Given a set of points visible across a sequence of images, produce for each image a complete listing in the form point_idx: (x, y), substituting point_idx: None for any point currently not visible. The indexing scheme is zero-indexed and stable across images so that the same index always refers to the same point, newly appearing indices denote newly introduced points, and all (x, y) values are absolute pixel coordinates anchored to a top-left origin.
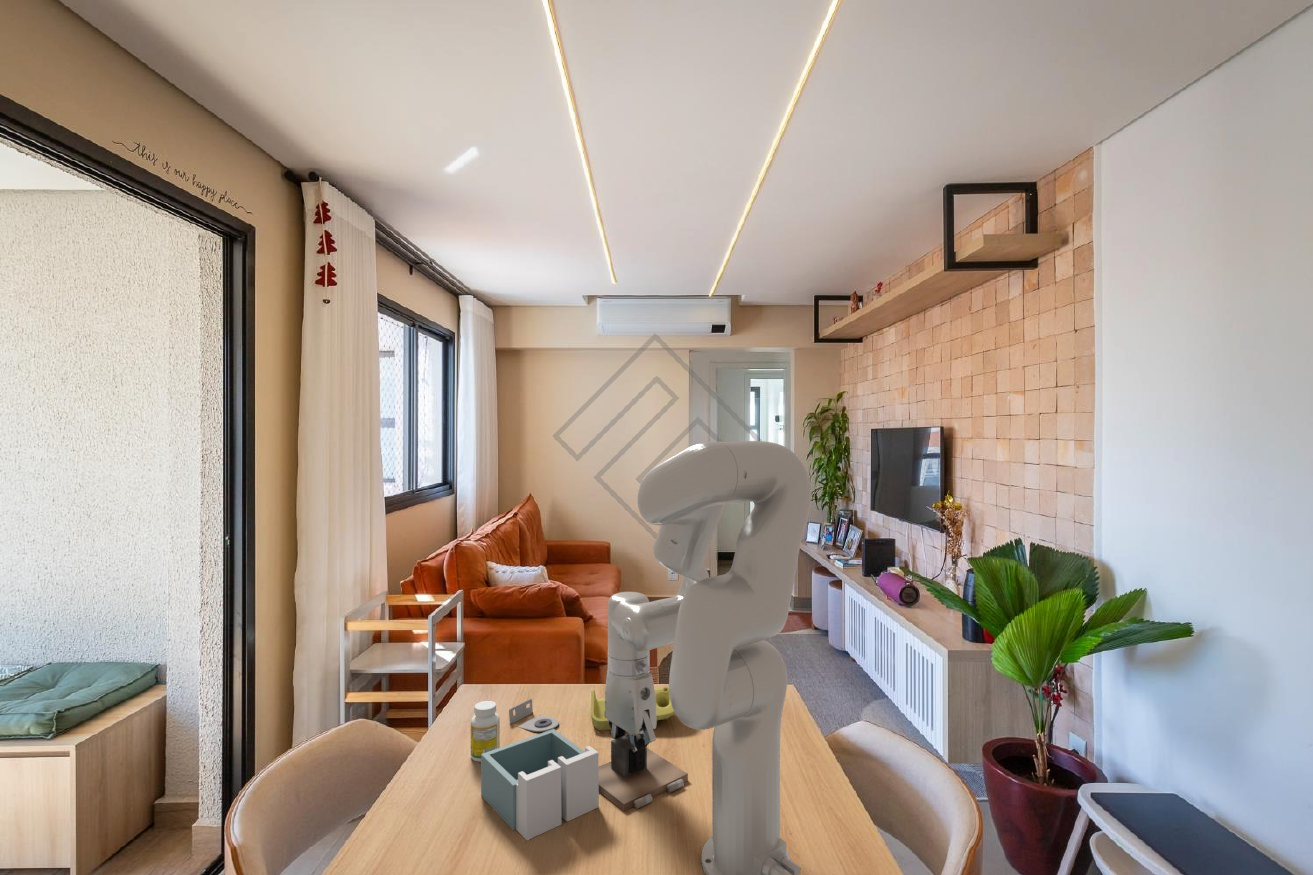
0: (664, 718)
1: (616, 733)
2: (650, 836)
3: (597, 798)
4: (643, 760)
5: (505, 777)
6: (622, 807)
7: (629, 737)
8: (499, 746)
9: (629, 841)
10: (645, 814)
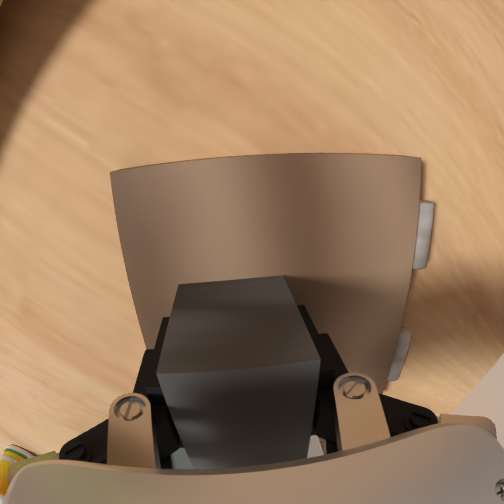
0: (1, 3)
1: (173, 466)
2: (455, 369)
3: (320, 446)
4: (333, 347)
5: None
6: None
7: (212, 415)
8: (20, 458)
9: (432, 401)
10: (416, 356)
